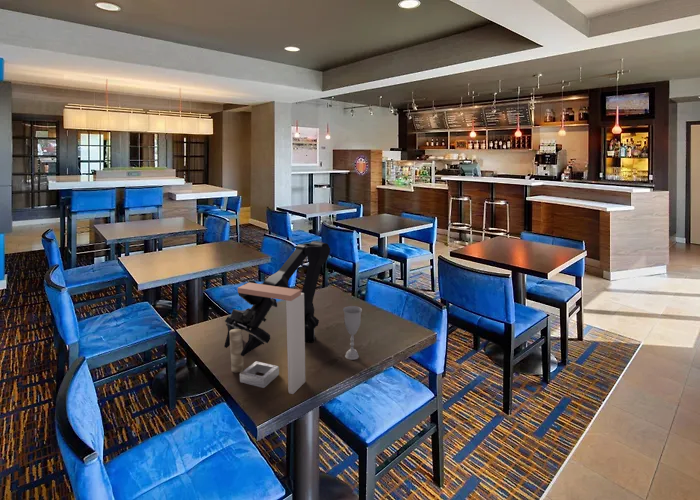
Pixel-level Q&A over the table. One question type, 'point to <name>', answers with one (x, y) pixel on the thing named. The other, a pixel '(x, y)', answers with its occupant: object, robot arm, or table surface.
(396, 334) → the table surface
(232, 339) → the peg
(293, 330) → the inverted l-shaped panel
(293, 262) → the robot arm
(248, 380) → the socket
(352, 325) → the chalice
